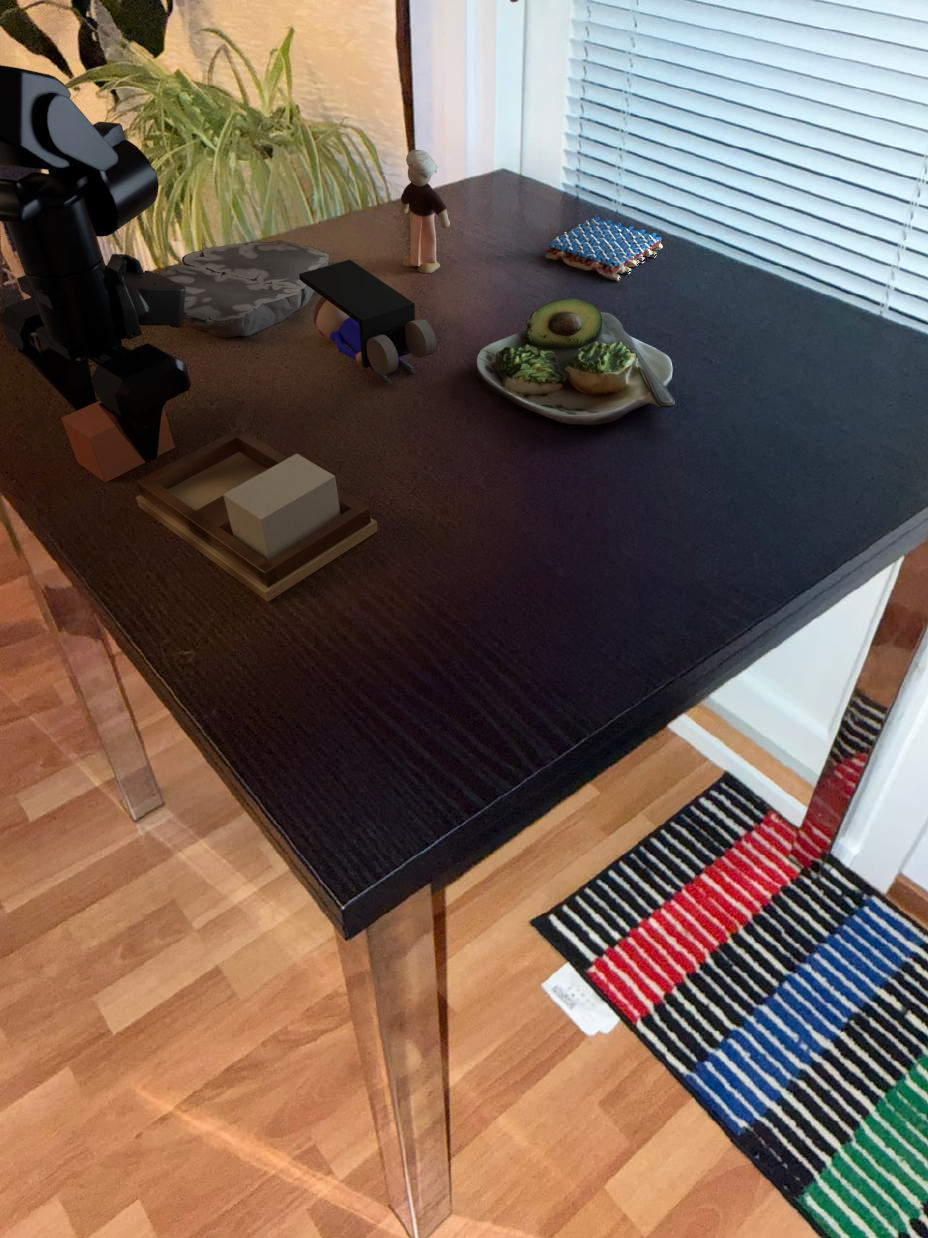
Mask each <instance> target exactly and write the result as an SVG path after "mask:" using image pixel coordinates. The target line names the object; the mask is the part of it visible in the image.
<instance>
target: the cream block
mask: <svg viewBox="0 0 928 1238" xmlns="http://www.w3.org/2000/svg"><path fill="white" fill-rule="evenodd" d="M287 458H288V459H286V460H284V461H282V462H280V463H279V464H277V465H275V466H273V467H271V468H270V469H268V470H266V471H264V472H262V473H261V474H259V475H257V476H255V477H253V478H252V479H250V480H248V481H246V482H244V483H243V484H241V485H239V486H237V487H235V488H234V489H232V490H230V491H228V492H226V493H225V494H223V496H224V500H225V504H226V508H227V512H228V516H229V520H230V524H231V528H232V532H233V536H234V538H235V539H237V540H238V541H240V542H241V543H243V544H244V545H245V546H247V547H248V548H250V549H251V550H252V551H254V552H255V553H257V554H258V555H260V556H261V557H262V558H264V559H265V560H269V559H270V558H272V557H274V556H275V555H277V554H279V553H280V552H282V551H283V550H285V549H287V548H288V547H290V546H292V545H293V544H295V543H296V542H298V541H300V540H301V539H303V538H305V537H306V536H308V535H309V534H311V533H313V532H314V531H316V530H318V529H319V528H321V527H322V526H324V525H326V524H327V523H329V522H331V521H332V520H334V519H335V518H337V517H339V516H340V508H339V501H338V494H337V488H338V487H337V480H336V476H335V475H334V474H332V473H331V472H328V471H327V470H325V469H324V468H322V467H320V466H318V465H317V464H315V463H314V462H312V461H310V460H309V459H307V458H306V457H304V456H303V455H300V454H299V453H295V454H293V455H291V456H290V457H287Z"/></svg>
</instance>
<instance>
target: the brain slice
mask: <svg viewBox="0 0 928 1238" xmlns="http://www.w3.org/2000/svg"><path fill="white" fill-rule="evenodd" d="M329 260H330V255H329V253H328V252H325V251H324V250H321V249H318V248H316V247H312V246H308V245H304V244H301V243H300V244H299V243H296V242H291V241H284V240H271V241H249V242H245V243H231V244H225V245H220V246H211V247H207V248H203V249H200V250H197V251H196V250H195V251H193V252H189V253H187V254H185V255H183V256H181V263H182V264H177V265H172V266H168V267H167V268H165V269H164V270H162V271H160V272H158V273H157V274H159V275H162V276H164V277H166V278H168V279H170V280H172V281H174V282H176V283H178V284H180V285H182V286H184V287H185V288H186V290H185V304H184V318H183V321H185V322H186V323H187V324H188V325H189V326H191V327H192V328H194V329H195V330H198V331H202V332H208V333H209V334H210V335H212V336H213V337H214V338H215V337H216V338H223V339H227V338H234V337H238V336H240V337H249V336H252V335H254V334H256V333H258V332H260V331H262V330H265V329H268V328H270V327H272V326H274V325H277V324H279V323H281V322H284V320H286V319H287V318H289V317H290V316H292V315H293V314H294V313H295V312H300V310H302V309H303V308H304V307H305V306H307V304H308V303H309V302H310V301H311V299H312V296H313V295H314V294H315V293H316V292H315V291H314V290H313V289H311V288H310V287H309V286H307V285H306V284H305V283H303V282H302V281H301V280H299V274H300V273H304V272H307V271H311V270H314V269H318V268H321V267H325V266H328V265H329Z"/></svg>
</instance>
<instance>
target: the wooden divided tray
mask: <svg viewBox="0 0 928 1238" xmlns="http://www.w3.org/2000/svg"><path fill="white" fill-rule="evenodd" d="M288 458H289V457H287V456H285V455H284V454H282V453H280V452H279V451H277V450H275V449H274V448H273V447H270V446H269V445H267V444H266V443H264V442H262V441H260V440H259V439H257V438H255V437H254V436H253V435H251V434H249V433H247V432H246V431H245V430H242V429H240V428H237V429H235V430H232V431H231V432H229V433H227V434H225V435H223V436H221V437H219V438H217V439H215V440H214V441H212V442H209V443H208V444H205V445H203V446H202V447H200V448H197V449H195V450H193V451H192V452H190V453H187V454H186V455H184V456H182V457H180V458H178V459H176V460H174V461H172V462H170V463H169V464H166V465H164V466H163V467H161V468H158V469H157V470H155V471H153V472H151V473H148V474H147V475H145V476H143V477H141V478H139V479H137V480H136V484H137V486H138V490H139V493H140V494H139V495H137V496H135V499H136V503H137V505H138V507H139V508H140V509H141V510H143V512H145V513H147V514H148V515H150V516H151V517H152V518H153V519H155V520H156V521H157V522H159V523H160V524H162V526H164V527H166V529H168V530H170V532H172V533H174V534H175V535H176V536H178V537H179V538H180V539H182V540H183V541H184V542H186V543H187V544H189V545H190V546H191V547H193V549H195V550H197V551H198V552H199V553H201V555H203V556H205V557H206V558H207V559H209V560H210V561H212V562H213V563H214V564H216V565H217V567H219V568H221V569H222V570H224V571H225V572H226V573H228V574H229V575H231V576H232V577H233V578H235V579H236V580H237V581H238V582H240V583H241V584H243V585H244V586H246V587H247V588H248V589H249V590H251V591H252V592H253V593H254V594H256V595H257V596H259V597H260V598H262V599H263V600H264V601H266V602H267V603H268V602H270V601H272V600H274V599H275V598H276V597H278V596H279V595H281V594H282V593H284V592H286V591H288V590H289V589H291V588H292V587H294V586H295V585H296V584H298V583H300V582H301V581H302V580H304V579H306V578H307V577H309V576H311V575H312V574H314V573H315V572H317V571H318V570H320V569H322V568H323V567H324V566H326V565H327V564H329V563H330V562H332V561H334V560H335V559H337V558H338V557H340V556H341V555H343V554H345V553H346V552H348V551H349V550H351V549H352V548H354V547H356V546H357V545H359V544H360V543H362V542H363V541H365V540H367V539H368V538H369V537H371V536H372V535H374V534H375V533H377V532H378V522H377V521H376V520H374V519H373V518H372V517H371V509H370V506H367V505H366V504H365V503H363V502H361V501H360V500H357V499H356V498H354V497H353V496H351V495H349V494H348V493H346V492H345V491H343V490H341V489H339V488H338V487H337V494H338V501H339V508H340V516H339V517H337V518H335V519H334V520H332V521H331V522H329V523H327V524H326V525H324V526H322V527H321V528H319V529H318V530H316V531H314V532H313V533H311V534H309V535H308V536H306V537H305V538H303V539H301V540H300V541H298V542H296V543H295V544H293V545H292V546H290V547H288V548H287V549H285V550H283V551H282V552H280V553H279V554H277V555H275V556H274V557H272V558H270V559H269V560H265V559H264V558H262V557H261V556H260V555H258V554H257V553H255V552H254V551H252V550H251V549H250V548H248V547H247V546H245V545H244V544H243V543H241V542H240V541H238V540H237V539H235V538H234V536H233V532H232V528H231V524H230V520H229V516H228V512H227V508H226V504H225V500H224V496H223V494H225V493H226V492H228V491H230V490H232V489H234V488H235V487H237V486H239V485H241V484H243V483H244V482H246V481H248V480H250V479H252V478H253V477H255V476H257V475H259V474H261V473H262V472H264V471H266V470H268V469H270V468H271V467H273V466H275V465H277V464H279V463H280V462H282V461H284V460H286V459H288Z"/></svg>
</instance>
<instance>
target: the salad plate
mask: <svg viewBox="0 0 928 1238" xmlns="http://www.w3.org/2000/svg"><path fill="white" fill-rule="evenodd" d="M525 323H526V329H524V330H521V331H519V332H517V333H515V334H512V335H509V336H506V337H504V338H502V339H499V340H496V341H494V342H492V343H489V344H488V345H486V346H485V347H483V348H481V349H480V350H479V352H478V353H477V355H476V360H475V370H476V374H477V376H478V378H479V380H480V381H481V382H482V383H483V384H484V385H485V386H486V388H487V389H489V390H490V391H491V392H492V393H493V394H496V395H497V396H499V397H503V398H505V399H507V400H509V401H511V403H513V404H514V405H516V406H519V407H521V408H522V409H523V408H524V409H525V410H528V411H530V412H532V413H535V414H538V415H540V416H544V417H545V418H548V419H551V420H553V421H556V422H559V423H562V424H564V425H565V424H566V425H578V426H579V425H581V426H597V425H604V424H609V423H612V422H614V421H617V420H619V419H620V418H622V417H624V416H626V415H627V414H629V413H630V412H633V411H634V410H636V409H639V408H642V407H643V406H647V405H651V404H652V405H655V406H657V407H658V408H665V409H666V408H672V407H674V406H675V404H676V403H675V402H676V401H675V399H674V397H673V396H672V394H671V393H670V392H669V390H668V389H667V386H668V385H669V383H671V382H672V378H673V364H672V360H671V358H670V357H669V356H668V355H667V354H666V353H665V352H662V351H661V350H659V349H657V348H655V347H654V346H652V345H649V344H647V343H645V342H642V341H641V340H639V339H637V338H635V337H632V336H631V335H629V334H628V333H627V331H626V330H625V329H624V325H623V324H622V323H621V322H620V321H619V320H618V319H617V317H615V316H614V315H613V314H611V313H610V312H603V311H600V310H599V308H598V307H596V306H595V305H594V304H592V303H591V302H589V301H586V300H582V299H578V298H563V299H562V298H561V299H557V300H554V301H550V302H548V303H545V304H544V305H541V306H540V307H538V308H536V310H534V311H532V313H531V314H530V317H529V319H527V320H526V321H525Z"/></svg>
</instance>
